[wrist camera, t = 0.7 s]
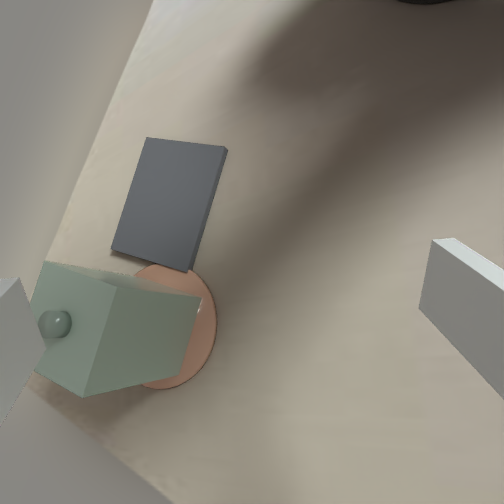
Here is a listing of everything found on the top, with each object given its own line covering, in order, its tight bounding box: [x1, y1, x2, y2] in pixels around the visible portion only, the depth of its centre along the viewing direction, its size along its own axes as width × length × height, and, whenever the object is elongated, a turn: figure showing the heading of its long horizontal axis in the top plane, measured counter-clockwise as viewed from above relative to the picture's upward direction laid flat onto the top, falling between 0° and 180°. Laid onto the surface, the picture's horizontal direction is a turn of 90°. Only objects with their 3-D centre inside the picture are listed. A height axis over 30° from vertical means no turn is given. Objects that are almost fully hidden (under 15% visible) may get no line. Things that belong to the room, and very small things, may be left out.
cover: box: [30, 261, 202, 398], centre depth 32 cm, size 8×8×13 cm
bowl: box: [134, 264, 217, 389], centre depth 36 cm, size 13×13×4 cm
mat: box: [111, 137, 228, 273], centre depth 41 cm, size 14×11×1 cm
